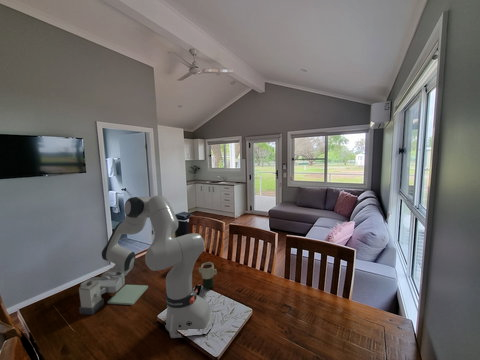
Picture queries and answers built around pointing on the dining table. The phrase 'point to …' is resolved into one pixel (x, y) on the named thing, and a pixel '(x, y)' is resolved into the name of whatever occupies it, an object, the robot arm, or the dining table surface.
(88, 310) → the post
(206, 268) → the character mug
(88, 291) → the white upright box
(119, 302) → the pad
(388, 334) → the dining table surface
